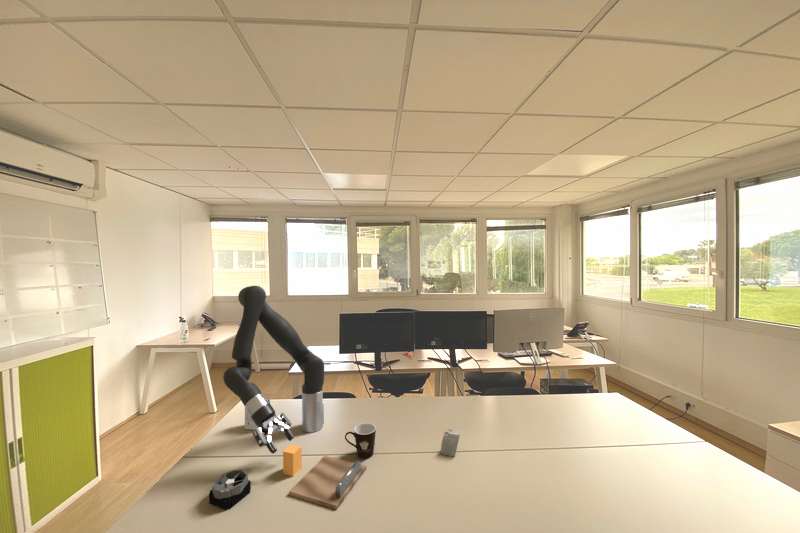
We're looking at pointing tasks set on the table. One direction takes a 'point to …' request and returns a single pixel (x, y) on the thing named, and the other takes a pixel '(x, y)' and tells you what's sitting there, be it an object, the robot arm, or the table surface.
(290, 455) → the orange rectangular prism
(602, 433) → the table surface
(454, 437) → the mineral specimen
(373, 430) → the coffee mug
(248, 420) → the ink cartridge box
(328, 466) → the plate
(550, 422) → the table surface
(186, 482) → the table surface
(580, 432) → the table surface
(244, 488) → the cpu cooler
